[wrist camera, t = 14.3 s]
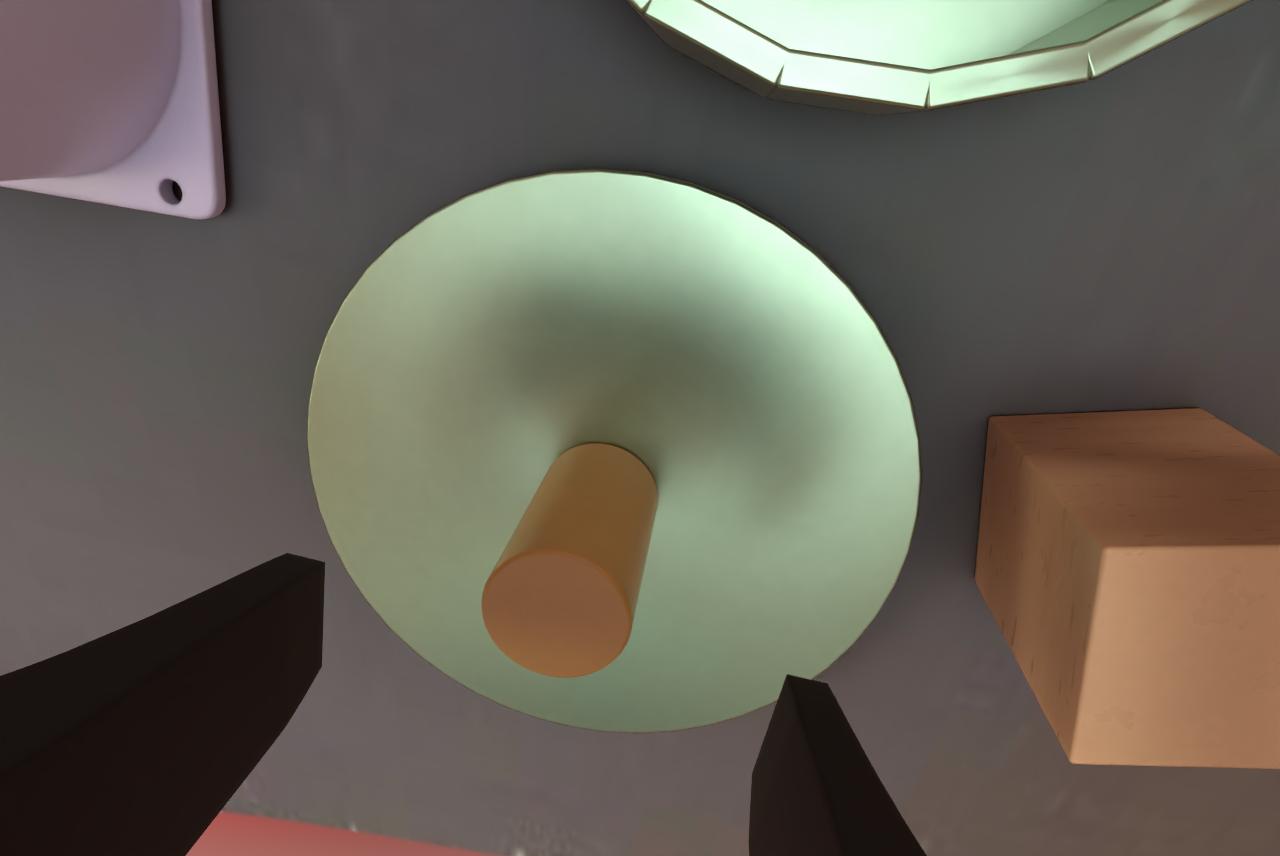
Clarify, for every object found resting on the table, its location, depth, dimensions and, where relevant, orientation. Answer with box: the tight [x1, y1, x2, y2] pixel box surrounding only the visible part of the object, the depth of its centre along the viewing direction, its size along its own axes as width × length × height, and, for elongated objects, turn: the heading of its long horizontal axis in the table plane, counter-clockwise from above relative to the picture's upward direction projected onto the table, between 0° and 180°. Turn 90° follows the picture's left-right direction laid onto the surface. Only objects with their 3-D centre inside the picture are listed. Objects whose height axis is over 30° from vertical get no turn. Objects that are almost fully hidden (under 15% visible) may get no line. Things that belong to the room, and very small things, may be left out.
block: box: [975, 408, 1280, 769], centre depth 14 cm, size 4×4×6 cm
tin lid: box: [307, 168, 922, 733], centre depth 15 cm, size 14×14×6 cm
